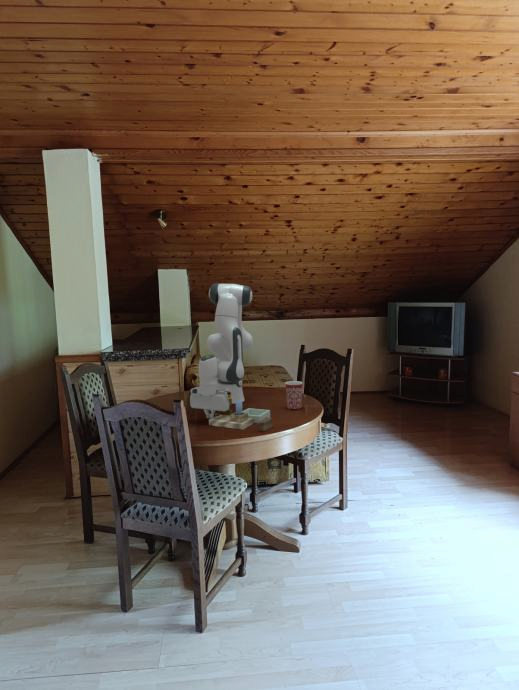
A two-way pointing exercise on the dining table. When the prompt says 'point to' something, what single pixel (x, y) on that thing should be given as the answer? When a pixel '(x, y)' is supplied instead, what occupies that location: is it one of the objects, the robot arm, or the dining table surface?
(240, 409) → the dowel
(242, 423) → the board
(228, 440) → the dining table surface
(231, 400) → the condiment
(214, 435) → the dining table surface
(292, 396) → the mug
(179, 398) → the dining table surface
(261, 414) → the tray
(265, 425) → the block
